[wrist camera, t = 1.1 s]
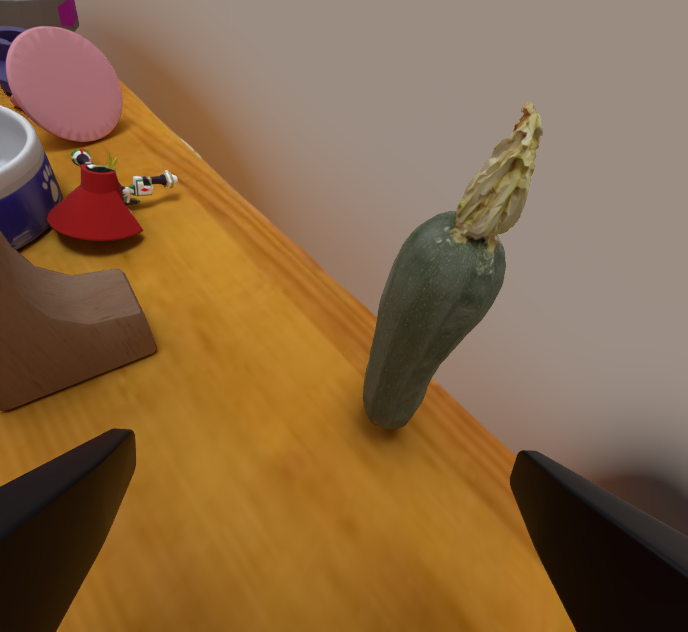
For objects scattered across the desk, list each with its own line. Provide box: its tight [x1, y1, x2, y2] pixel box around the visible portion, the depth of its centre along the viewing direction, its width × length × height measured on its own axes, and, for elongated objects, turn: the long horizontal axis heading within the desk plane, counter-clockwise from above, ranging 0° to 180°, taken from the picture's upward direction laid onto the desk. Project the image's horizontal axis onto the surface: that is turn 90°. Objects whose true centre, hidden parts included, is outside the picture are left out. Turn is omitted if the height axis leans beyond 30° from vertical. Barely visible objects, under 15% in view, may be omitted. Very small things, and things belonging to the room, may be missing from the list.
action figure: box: [47, 149, 178, 241], centre depth 32 cm, size 9×10×6 cm
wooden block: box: [0, 231, 156, 411], centre depth 18 cm, size 9×4×18 cm, turn 125°
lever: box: [0, 26, 28, 94], centre depth 46 cm, size 12×6×3 cm, turn 25°
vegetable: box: [363, 103, 542, 429], centre depth 18 cm, size 4×4×20 cm
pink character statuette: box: [6, 26, 123, 142], centre depth 40 cm, size 10×10×12 cm
